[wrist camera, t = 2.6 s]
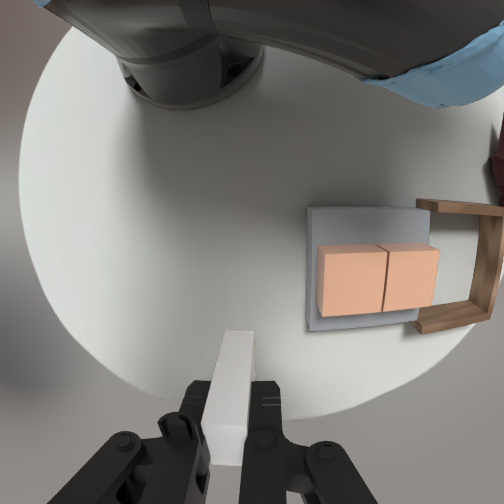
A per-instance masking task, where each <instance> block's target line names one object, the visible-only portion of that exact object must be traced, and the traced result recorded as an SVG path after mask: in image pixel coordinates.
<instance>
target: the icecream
mask: <svg viewBox="0 0 504 504" xmlns="http://www.w3.org/2000/svg"><path fill="white" fill-rule="evenodd" d="M490 158H491V159H492V160H493V162H492V174H493V176H494V178H495V181H496V182H497V184H498V185H499V190H500V192H501V193H502V197H501V202H500V207H504V114H503V121H502V127H501V132H500V137H499V142H498V146H497V151H496V154H495V155H494V156H492V155H491V156H490Z"/></svg>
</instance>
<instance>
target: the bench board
mask: <svg viewBox="0 0 504 504" xmlns="http://www.w3.org/2000/svg"><path fill="white" fill-rule="evenodd" d="M429 228H430V211H429V210H425V209H420V208H412V207H372V206H307V294H306V321H307V324H308V328H309V331H321V330H335V329H347V328H358V327H368V326H377V325H386V324H394V323H401V322H409V321H415V320H417V318H418V313H419V308H411V309H403V310H394V311H385V312H383V311H382V310H381V312H375V313H365V314H353V315H340V316H325V317H322V315H321V313H320V310H319V308H318V305H317V303H316V291H317V257H318V245H348V244H375V245H376V244H389V243H425V244H427V245H428V242H429Z"/></svg>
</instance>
